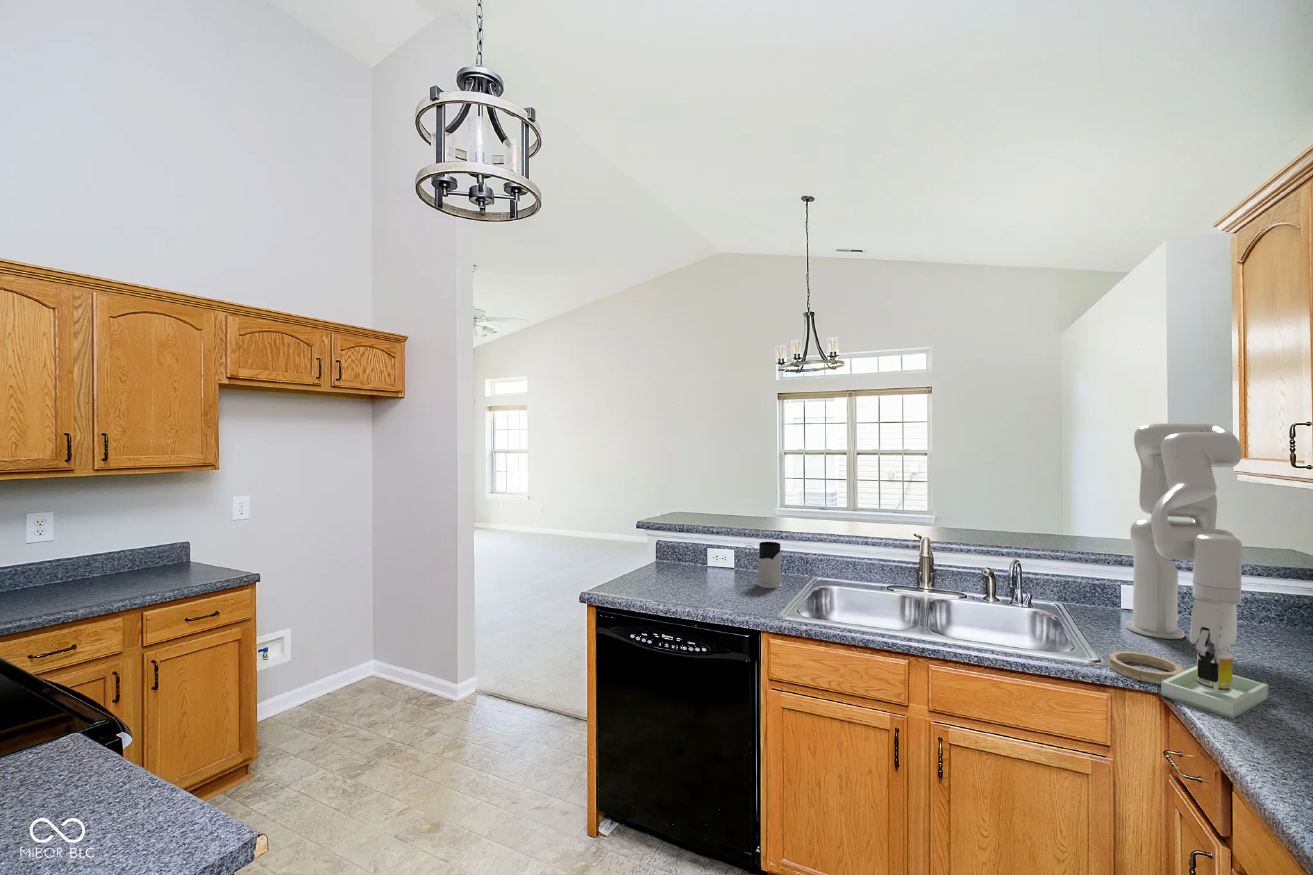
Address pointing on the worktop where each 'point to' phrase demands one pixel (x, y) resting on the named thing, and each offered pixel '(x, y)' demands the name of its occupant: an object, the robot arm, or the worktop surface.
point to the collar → (1142, 658)
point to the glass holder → (768, 564)
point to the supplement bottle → (1219, 673)
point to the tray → (1215, 694)
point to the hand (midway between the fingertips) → (1214, 675)
